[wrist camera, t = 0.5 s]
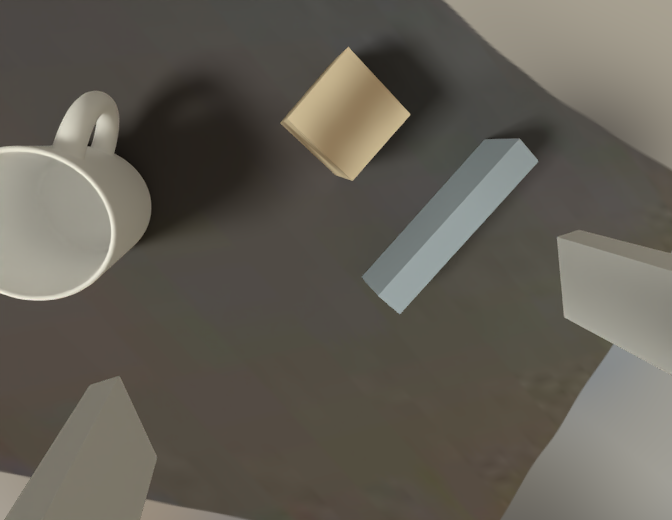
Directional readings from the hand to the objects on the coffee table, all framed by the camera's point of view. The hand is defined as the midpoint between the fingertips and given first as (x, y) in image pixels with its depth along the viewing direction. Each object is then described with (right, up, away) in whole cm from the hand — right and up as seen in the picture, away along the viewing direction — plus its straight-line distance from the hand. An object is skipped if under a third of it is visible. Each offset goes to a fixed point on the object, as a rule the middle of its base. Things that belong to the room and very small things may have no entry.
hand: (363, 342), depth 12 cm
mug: (-18, +8, +20) cm, 28 cm away
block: (-1, +13, +22) cm, 26 cm away
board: (+8, +6, +26) cm, 28 cm away
